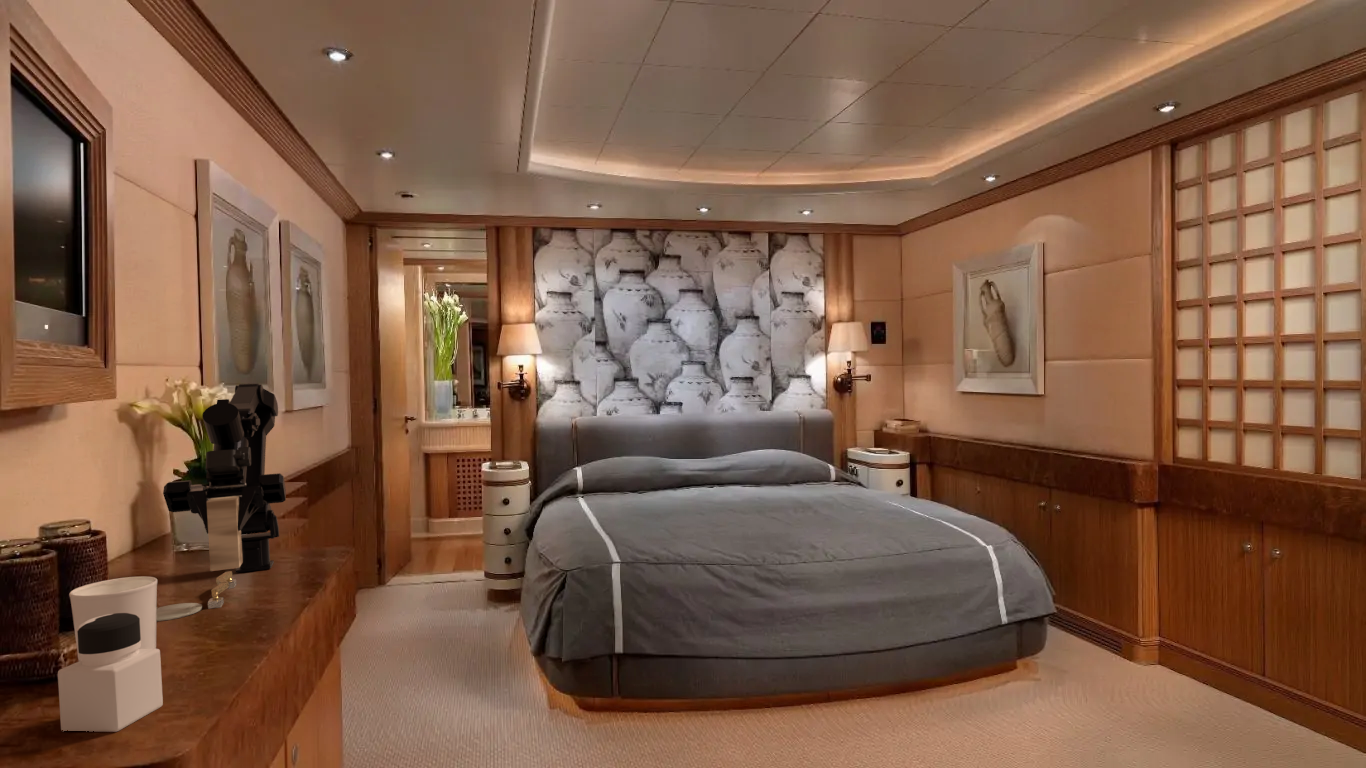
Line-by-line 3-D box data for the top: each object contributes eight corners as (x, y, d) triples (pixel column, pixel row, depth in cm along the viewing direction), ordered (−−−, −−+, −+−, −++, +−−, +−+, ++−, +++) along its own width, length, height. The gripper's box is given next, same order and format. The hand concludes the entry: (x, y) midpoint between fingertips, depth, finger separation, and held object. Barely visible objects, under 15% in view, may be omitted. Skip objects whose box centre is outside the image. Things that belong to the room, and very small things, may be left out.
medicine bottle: (164, 706, 97) (159, 608, 97) (117, 732, 90) (111, 627, 89) (110, 705, 97) (105, 608, 97) (59, 732, 90) (53, 627, 90)
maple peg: (214, 565, 141) (210, 498, 141) (242, 562, 143) (239, 495, 142) (210, 571, 137) (206, 501, 137) (239, 567, 139) (235, 499, 138)
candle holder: (178, 662, 112) (174, 577, 112) (108, 690, 103) (103, 597, 102) (128, 657, 115) (124, 574, 115) (56, 683, 106) (51, 593, 106)
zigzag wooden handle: (222, 586, 154) (221, 571, 154) (238, 584, 155) (237, 569, 155) (205, 609, 139) (204, 591, 138) (223, 606, 140) (222, 589, 139)
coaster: (148, 609, 139) (147, 607, 139) (206, 602, 143) (206, 600, 143) (133, 624, 131) (133, 622, 131) (196, 616, 134) (196, 613, 134)
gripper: (162, 436, 140) (150, 508, 130) (281, 429, 147) (278, 497, 137) (174, 476, 147) (164, 547, 137) (286, 467, 154) (284, 534, 144)
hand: (223, 530), depth 138 cm, fingers closed on maple peg, 4 cm apart
